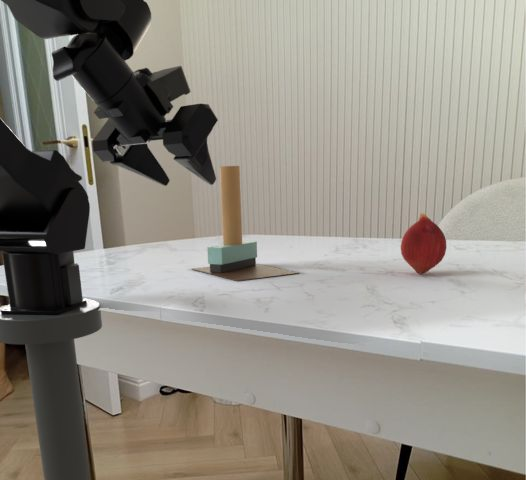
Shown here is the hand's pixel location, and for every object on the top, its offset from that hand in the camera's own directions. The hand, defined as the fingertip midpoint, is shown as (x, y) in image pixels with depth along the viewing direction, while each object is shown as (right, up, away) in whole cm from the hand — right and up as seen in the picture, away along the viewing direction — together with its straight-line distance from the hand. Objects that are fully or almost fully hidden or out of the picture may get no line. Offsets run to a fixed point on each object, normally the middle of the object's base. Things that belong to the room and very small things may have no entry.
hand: (189, 182), depth 79 cm
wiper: (+5, -10, +9) cm, 15 cm away
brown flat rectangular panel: (+7, -11, +7) cm, 15 cm away
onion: (+31, -12, 0) cm, 34 cm away
